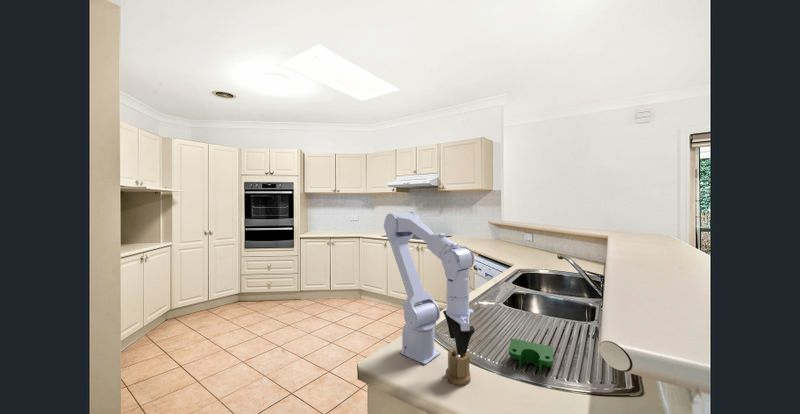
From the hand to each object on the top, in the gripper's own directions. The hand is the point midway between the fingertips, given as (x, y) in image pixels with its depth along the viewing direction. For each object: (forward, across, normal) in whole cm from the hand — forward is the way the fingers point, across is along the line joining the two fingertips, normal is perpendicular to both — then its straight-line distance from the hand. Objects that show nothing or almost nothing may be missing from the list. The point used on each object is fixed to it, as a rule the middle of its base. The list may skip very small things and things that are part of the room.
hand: (457, 345), depth 80 cm
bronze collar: (+8, 0, 0) cm, 8 cm away
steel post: (+7, 0, 0) cm, 7 cm away
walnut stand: (+9, 0, 0) cm, 9 cm away
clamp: (+9, +4, -22) cm, 24 cm away
